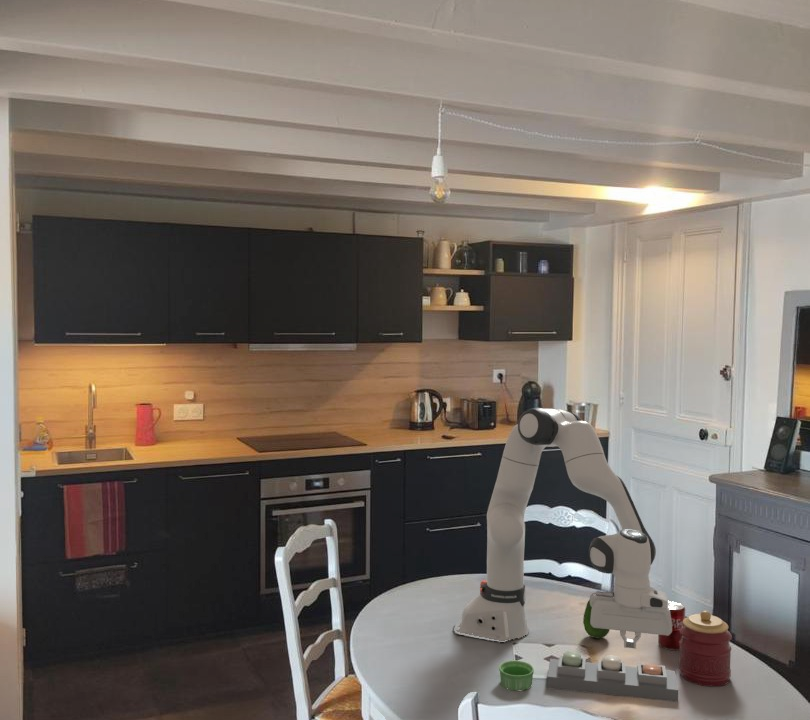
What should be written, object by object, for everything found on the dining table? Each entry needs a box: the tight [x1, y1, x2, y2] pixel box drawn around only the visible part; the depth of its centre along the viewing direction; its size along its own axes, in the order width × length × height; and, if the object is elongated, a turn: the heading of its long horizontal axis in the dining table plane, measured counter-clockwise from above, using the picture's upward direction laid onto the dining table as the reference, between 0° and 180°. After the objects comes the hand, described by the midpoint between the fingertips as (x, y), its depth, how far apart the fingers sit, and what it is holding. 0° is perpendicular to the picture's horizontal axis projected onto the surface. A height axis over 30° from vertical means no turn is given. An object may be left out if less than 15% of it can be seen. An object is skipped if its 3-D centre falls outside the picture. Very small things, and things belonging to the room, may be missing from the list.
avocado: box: [582, 598, 611, 639], centre depth 239 cm, size 8×8×12 cm
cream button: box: [602, 654, 622, 671], centre depth 209 cm, size 5×5×2 cm
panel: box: [546, 655, 679, 703], centre depth 209 cm, size 32×11×5 cm, turn 76°
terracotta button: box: [643, 663, 661, 675], centre depth 207 cm, size 5×5×2 cm
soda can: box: [657, 600, 686, 651], centre depth 233 cm, size 7×7×12 cm
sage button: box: [562, 651, 582, 667], centre depth 212 cm, size 5×5×2 cm
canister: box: [678, 610, 733, 687], centre depth 214 cm, size 13×13×18 cm
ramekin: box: [498, 660, 535, 691], centre depth 210 cm, size 9×9×4 cm
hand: (629, 647), depth 208 cm, fingers closed
